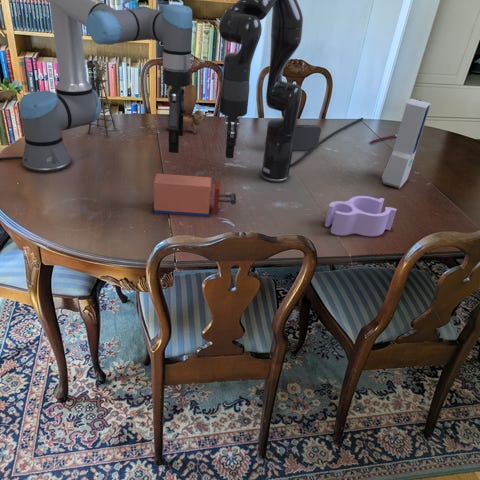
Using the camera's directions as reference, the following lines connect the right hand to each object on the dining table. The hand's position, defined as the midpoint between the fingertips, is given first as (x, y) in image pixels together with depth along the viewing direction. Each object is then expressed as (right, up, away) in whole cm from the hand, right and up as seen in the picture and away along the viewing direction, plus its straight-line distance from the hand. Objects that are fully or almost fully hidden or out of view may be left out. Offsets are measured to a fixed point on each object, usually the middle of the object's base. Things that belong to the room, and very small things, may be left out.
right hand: (229, 156), depth 133 cm
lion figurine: (-20, +22, +65) cm, 71 cm away
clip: (+39, -20, +10) cm, 45 cm away
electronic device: (+61, -2, +41) cm, 73 cm away
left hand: (-16, +4, +4) cm, 17 cm away
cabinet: (-15, -15, +9) cm, 23 cm away
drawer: (-9, -14, +9) cm, 19 cm away
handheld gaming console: (+24, +13, +58) cm, 64 cm away
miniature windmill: (-53, +20, +56) cm, 79 cm away
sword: (+72, +22, +81) cm, 111 cm away
